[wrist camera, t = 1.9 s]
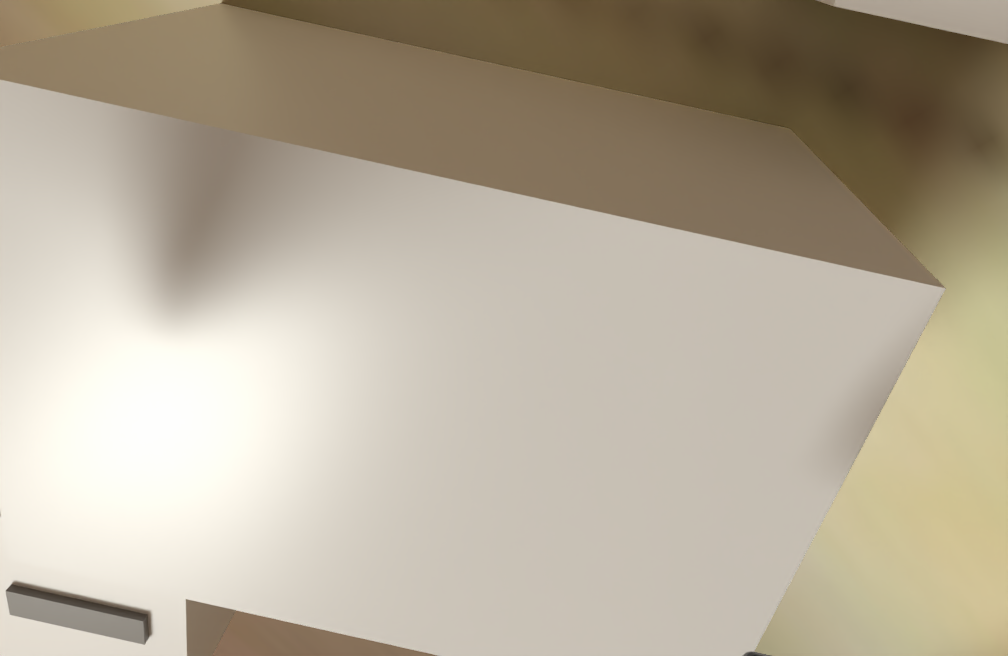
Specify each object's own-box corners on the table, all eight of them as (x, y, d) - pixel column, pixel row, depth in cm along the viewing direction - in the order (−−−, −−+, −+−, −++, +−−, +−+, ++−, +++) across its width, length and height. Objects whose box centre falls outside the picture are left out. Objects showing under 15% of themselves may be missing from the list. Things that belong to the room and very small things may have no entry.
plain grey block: (674, 432, 19) (718, 717, 12) (220, 332, 20) (9, 559, 12) (788, 126, 16) (946, 288, 9) (224, 2, 16) (-79, 62, 9)
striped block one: (265, 554, 23) (184, 709, 18) (105, 519, 23) (-16, 664, 19) (272, 417, 21) (180, 558, 16) (93, 378, 21) (-50, 506, 16)
